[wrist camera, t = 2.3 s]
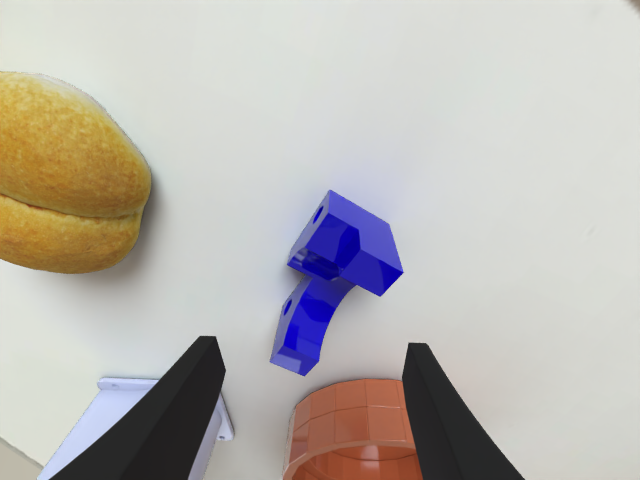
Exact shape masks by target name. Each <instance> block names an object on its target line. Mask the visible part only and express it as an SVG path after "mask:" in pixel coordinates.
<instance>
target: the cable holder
mask: <svg viewBox="0 0 640 480" xmlns="http://www.w3.org/2000/svg"><path fill="white" fill-rule="evenodd" d="M287 265H288V266H290V267H292V268H294V269H296V270H298V271H300V272H302V273H304V274H305V276H304V277H303V279H302V280H301V281H300V283H299V284H298V285H297V287H296V288H295V290H294V291H293V292H292V294H291V295H290V296H289V298H288V299H287V301H286V302H285V303H284V305H283V307H282V311H281V316H280V320H279V324H278V328H277V333H276V337H275V341H274V346H273V350H272V354H271V358H270V362H271V363H273V364H275V365H278V366H280V367H283V368H285V369H288V370H290V371H292V372H295V373H297V374H300V375H302V376H305V375H306V374H307V373H308V372H309V371H310V370H311V369H312V368H313V367H314V366H315V365H316V364H317V363H318V362H319V357H320V350H321V346H322V342H323V338H324V335H325V332H326V329H327V326H328V324H329V322H330V320H331V317H332V315H333V313H334V312H335V310H336V308H337V306H338V305H339V303H340V302H341V300H342V299H343V298H344V296H345V295H346V294H347V293H348V292H349V291H350V290H351V289H352V288H353V287H355V286H356V285H358V286H360V287H362V288H364V289H366V290H368V291H370V292H372V293H374V294H376V295H378V296H380V297H381V296H382V295H383V294H384V293H385V291H386V290H387V289H388V288H389V287H390V286H391V285H392V284H393V283H394V282H395V281H396V280H397V279H398V278H399V277H400V276H401V275H402V274H403V273H404V272H403V269H402V266H401V262H400V259H399V256H398V252H397V249H396V245H395V242H394V239H393V235H392V232H391V229H390V225H389V224H388V223H386V222H385V221H383V220H381V219H380V218H378V217H376V216H374V215H373V214H371V213H369V212H368V211H366V210H364V209H362V208H361V207H359V206H357V205H356V204H354V203H352V202H350V201H349V200H347V199H345V198H344V197H342V196H340V195H338V194H337V193H335V192H333V191H332V190H329V192H328V193H327V195H326V196H325V198H324V199H323V201H322V202H321V204H320V205H319V207H318V209H317V210H316V212H315V213H314V215H313V216H312V218H311V219H310V221H309V222H308V224H307V225H306V227H305V228H304V230H303V232H302V233H301V235H300V236H299V238H298V239H297V241H296V242H295V244H294V245H293V247H292V248H291V252H290V256H289V260H288V263H287Z"/></svg>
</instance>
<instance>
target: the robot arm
mask: <svg viewBox="0 0 640 480" xmlns="http://www.w3.org/2000/svg"><path fill="white" fill-rule="evenodd" d="M225 372H226V369H225V366H224V362H223V359H222V356H221V352H220V349H219V346H218V342H217V339H216V336H200V337H198V338H197V340H196V341H195V342H194V343H193V344H192V345H191V346H190V347H189V348H188V350H187V351H186V352H185V353H184V354H183V355H182V356H181V357H180V358H179V360H178V361H177V362H176V363H175V364H174V365H173V366H172V367H171V368H170V369H169V370H168V371H167V373H166V374H165V375H164V376H163V377H162V378H161V379H160V380H153V379H128V378H101V379H100V380H99V381H98V382H97V385H98V387H99V388H100V391H99V393H98V394H97V396H96V397H95V398H94V400H93V401H92V402H91V404H90V405H89V407H88V408H87V409H86V411H85V412H84V413H83V415H82V416H81V418H80V419H79V420H78V422H77V423H76V424H75V426H74V427H73V429H72V430H71V431H70V433H69V434H68V435H67V437H66V438H65V440H64V441H63V442H62V444H61V445H60V446H59V448H58V449H57V451H56V452H55V453H54V455H53V456H52V457H51V459H50V460H49V462H48V463H47V464H46V466H45V467H44V468H43V470H42V471H41V473H40V474H39V476H38V477H37V479H36V480H203V478H204V475H205V472H206V469H207V465H208V462H209V459H210V456H211V453H212V450H213V447H214V444H215V441H216V440H228V441H229V440H232V439H233V438H234V431H233V428H232V425H231V422H230V419H229V416H228V413H227V410H226V407H225V404H224V401H223V398H222V395H221V392H220V391H221V388H222V384H223V380H224V376H225ZM402 381H403V389H404V397H405V404H406V410H407V414H408V418H409V423H410V427H411V431H412V435H413V440H414V444H415V448H416V452H417V456H418V461H419V465H420V469H421V473H422V477H423V480H525V479H524V478H523V477H522V476H521V474H520V473H519V472H518V471H517V470H516V469H515V467H514V466H513V465H512V464H511V463H510V461H509V460H508V459H507V458H506V457H505V455H504V454H503V453H502V452H501V451H500V449H499V448H498V447H497V446H496V444H495V443H494V442H493V441H492V439H491V438H490V437H489V435H488V434H487V433H486V432H485V430H484V429H483V428H482V426H481V425H480V424H479V422H478V421H477V420H476V418H475V417H474V415H473V414H472V413H471V411H470V410H469V409H468V407H467V406H466V404H465V403H464V401H463V400H462V398H461V397H460V395H459V394H458V393H457V391H456V390H455V388H454V387H453V385H452V384H451V382H450V381H449V379H448V377H447V376H446V374H445V373H444V371H443V370H442V368H441V366H440V365H439V363H438V361H437V360H436V358H435V356H434V355H433V353H432V351H431V349H430V348H429V346H428V345H427V344H426V343H409V344H408V349H407V354H406V359H405V365H404V370H403V375H402Z"/></svg>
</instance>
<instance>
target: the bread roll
mask: <svg viewBox="0 0 640 480" xmlns="http://www.w3.org/2000/svg"><path fill="white" fill-rule="evenodd" d="M150 190H151V172H150V169H149V166H148V164H147V162H146V160H145V158H144V157H143V155H142V154H141V153H140V151H139V150H138V149H137V148H136V146H135V145H134V144H133V143H132V141H131V140H130V139H129V138H128V136H127V135H126V134H125V133H124V132H123V130H122V129H121V128H120V127H119V126H118V124H117V123H116V122H115V121H114V120H113V119H112V117H111V116H110V115H109V114H108V113H107V112H106V110H105V109H104V108H103V107H102V106H101V105H100V104H99V103H98V102H97V101H96V100H95V99H94V98H93V97H91V96H90V95H88V94H87V93H85V92H84V91H82V90H80V89H78V88H76V87H74V86H72V85H70V84H68V83H66V82H64V81H62V80H60V79H56V78H53V77H50V76H46V75H43V74H38V73H22V72H21V73H19V72H1V71H0V259H2V260H5V261H7V262H10V263H13V264H16V265H20V266H23V267H27V268H31V269H36V270H45V271H49V272H55V273H66V274H79V273H88V272H94V271H99V270H103V269H107V268H110V267H111V266H113V265H115V264H117V263H118V262H120V261H121V260H122V259H123V258H124V257H125V256H126V255H127V254H128V253H129V252H130V251H131V249H132V248H133V247H134V245H135V243H136V241H137V239H138V236H139V231H140V226H141V218H142V214H143V210H144V206H145V204H146V202H147V201H148V198H149V195H150Z"/></svg>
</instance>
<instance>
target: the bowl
mask: <svg viewBox="0 0 640 480" xmlns="http://www.w3.org/2000/svg"><path fill="white" fill-rule="evenodd" d="M282 479H283V480H423V477H422V473H421V469H420V465H419V461H418V456H417V452H416V448H415V444H414V440H413V435H412V431H411V427H410V423H409V418H408V414H407V410H406V404H405V397H404V389H403V382H402V381H398V380H386V379H360V380H354V381H347V382H341V383H336V384H333V385H330V386H328V387H325V388H323V389H320V390H318V391H315V392H313V393H311V394H310V395H309V396H307V397H306V398H305V399H304V400H302V401H301V402H300V403H299V404H298V405H297V406H296V408H295V410H294V412H293V414H292V416H291V418H290V423H289V430H288V437H287V445H286V452H285V459H284V466H283V473H282Z"/></svg>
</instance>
